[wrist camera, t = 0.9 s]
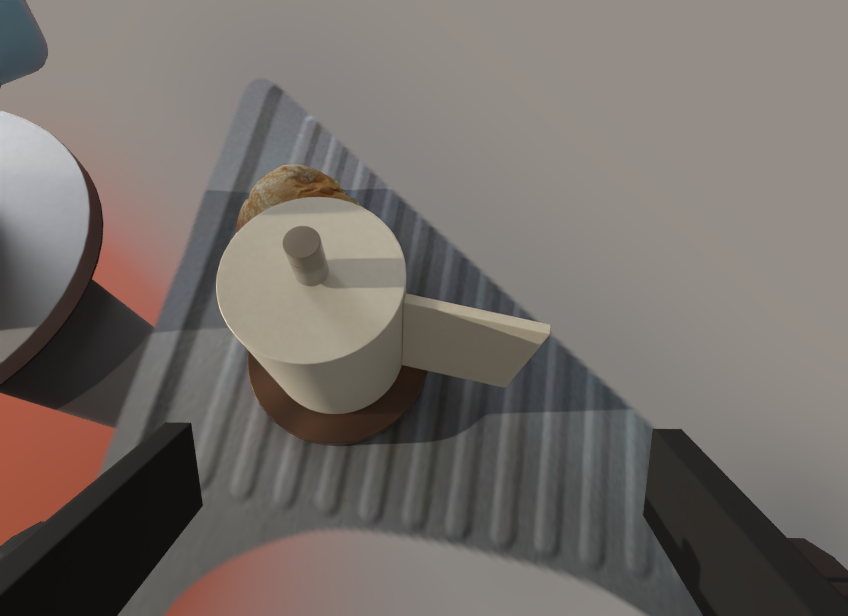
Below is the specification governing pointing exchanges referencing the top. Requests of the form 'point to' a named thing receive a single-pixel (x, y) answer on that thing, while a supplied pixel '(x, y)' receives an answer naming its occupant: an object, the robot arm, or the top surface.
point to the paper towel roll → (354, 312)
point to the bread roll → (289, 190)
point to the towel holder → (316, 426)
